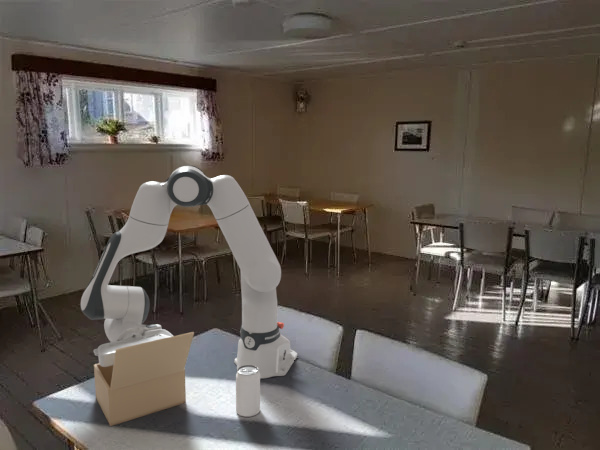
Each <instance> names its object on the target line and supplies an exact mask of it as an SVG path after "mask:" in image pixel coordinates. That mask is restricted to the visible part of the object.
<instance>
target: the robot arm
mask: <svg viewBox="0 0 600 450" xmlns="http://www.w3.org/2000/svg"><path fill="white" fill-rule="evenodd" d="M204 205H207V207H209V208H210V210H211V212H212V214H213V217H214V218H215V221H216V223H217V225H218V227H219V229H220V231H221V232H222V235H223V236H224V238H225V241H226V243H227V244H228V246H229V249H230V251H231V253H232V255H233V258H234V259H235V262H236V263H237V266H238V268H239V270H240V289H241V291H240V292H241V326H240V331H239V333H240V339H238V342H237V343H238V344H237V357H235V358H234V360H233V361H234V362H233V363H234V364H235V365H236V370H238V368H239V367H241V366H243V365H254V366H256V367H258V369H259V373H260V379H268V378H272V377H283V376H286V375H287V373H288V371H289V370H290V369H291V367H292V365H293V364H294V362H295V361H296V359H297V357H298V352H296V351H295V350H293V349H292V348H291V341H290V340H289V339H288V338H287V337H285V336H284V335H283V334H281V331H280V330H283V329H284V327H285V323H284V322H280V321H278V297H277V287H278V285H279V284H280V281H281V279H282V267H281V265H280V262H279V260H278V258H277V256H276V254H275V252H274V250H273V248H272V247H271V244H270V242H269V240H268V238H267V236H266V234H265V232H264V231H263V229H262V227H261V225H260V221H259V220H258V218H257V215H256V214H255V212H254V210H253V208H252V205H251V204H250V201H249V199H248V197H247V196H246V194H245V192H244V191H243V189H242V188H241V186H240V184H239V183H238V181H236V179H235V178H234V177H233V176H231V175H228V174H222V175H221V174H220V175H218V176H215V177H212V178H211V177H208V176H207V175H206V174H205V172H203V169H201V168H199V167H197V166H194V165H189V164H188V165H183V166H180V167H177V168H176V169H175V170H173V172H171V174H170V175H169V177H168V178H167V179H166V180H165V181H164V182H159V181H153V180H151V181H146V182H143V183H142V184H141V185H140V186H139V188H138V190H137V192H136V194H135V197H134V199H133V203H132V204H131V207H130V211H129V216H128V219H127V221H125V222H126V223H125V224H124V226H123V227H122V228H120V230H118V231H116V232H114V233H112V234H111V236H110V237H109V239H108V241H107V243H106V246H105V248H104V250H103V251H102V254H101V256H100V257H99V260H98V263H97V265H96V267H95V269H94V271H93V275H92V276H91V278H90V281H89V283H88V284H87V286H86V288H85V289H84V291H83V293H82V296H81V299H80V311H81V312H82V313H83V315H84V316H85V317H87V318H88V319H89V320H91V321H94V320H96V321H97V320H104V323H103V327H104V332H105V335H106V337H107V339H108V341H109V342H106V343H103V344H99V346H98V347H97V348H94V349H93V351H92V352H93V354H94V356H97V357H98V364H99V363H100V366H102V367H108V366H112V365H114V359H115V351H116V349H120V348H124V347H128V346H133V345H137V344H141V343H146V342H150V341H155V340H159V339H163V338H168V337H172V336H174V335H173V334H172V333H171V332H170V331H168V330H166V329H164V328H162V325H161V324H158V323H157V324H145V323H144V322H145V321H146V320H147V318H148V315H149V313H150V305H151V304H150V298H149V295H148V294H147V291H146V290H145V289H144V288H143V287H141V286H131V285H116V284H115V285H111V284H109V283H110V280H111V278H112V276H113V274H114V272H115V269H116V267H117V265H118V263H119V261H121V260H122V259H123V258H125V257H127V256H129V255H132V254H136V253H140V252H145V251H149V250H151V249H154V248H155V247H157V246H158V245H160V244H161V243H162V242H163V240H164V238H165V237H166V234H167V231H168V227H169V223H170V219H171V215H172V212H173V210H174V208H175V207H177V206H179V207H185V208H191V207H197V206H204ZM294 360H295V361H294Z"/></svg>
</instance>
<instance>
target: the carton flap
mask: <svg viewBox="0 0 600 450" xmlns="http://www.w3.org/2000/svg"><path fill="white" fill-rule="evenodd" d="M194 335H195V332H194V331H191V332H187V333H181V334H178V335H177V334H176V335H173V336H172V337H168V338H163V339H159V340H155V341H150V342H146V343H141V344H137V345H133V346H128V347H124V348H120V349H116V351H115V359H114V366H113V373H112V380H111V388H110V390H111V391H112V390H116V389H119V388H123V387H127V386H130V385H134V384H138V383H141V382H145V381H149V380H152V379H156V378H159V377H163V376H167V375H170V374H174V373H178V372H181V371H184V369H185V367H186V365H187V361H188V357H189V353H190V349H191V345H192V342H193V338H194Z"/></svg>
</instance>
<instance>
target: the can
mask: <svg viewBox="0 0 600 450" xmlns="http://www.w3.org/2000/svg"><path fill="white" fill-rule="evenodd" d="M236 370H237V369H236ZM260 410H261V378H260V373H259V369H258V367H256V366H254V365H243V366H241V367H239V368H238V370H237V372H236V374H235V411H236V413H237V414H238V415H239V417H242V418H252V417H256V415H258V414H259V412H260Z"/></svg>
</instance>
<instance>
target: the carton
mask: <svg viewBox="0 0 600 450" xmlns="http://www.w3.org/2000/svg"><path fill="white" fill-rule="evenodd" d="M113 366H114V365H112V366H108V367H102V366H100V363H99V362H98V363H95V364H93V371H94V372H93V374H94V375H93V376H94V389H95V390H94V391H95V399H96V401H97V403H98V405H99V407H100V409H101V411H102V413H103V414H104V417H105V419H106V420H107V423H108V425H109V427H114V426H115V425H116V426H117V425H119V424H123V423H126V422H129V421H133V420H135V419H139V418H141V417H142V418H143V417H145V416H148V415H151V414H154V413H158V412H161V411H164V410H167V409H170V408H174V407H176V406H180V405H183V404H186V403H187V397H186V395H187V394H186V393H187V392H186V369H185V368H184V371H181V372H178V373H174V374H170V375H167V376H163V377H159V378H156V379H152V380H149V381H145V382H141V383H138V384H134V385H130V386H127V387H123V388H119V389H116V390H112V391H111V390H110V388H111V380H112V373H113Z"/></svg>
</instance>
